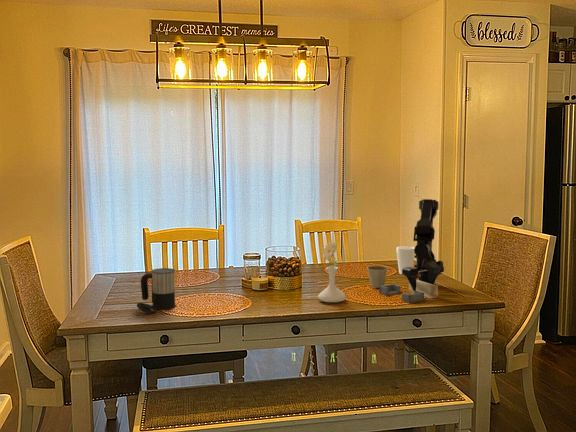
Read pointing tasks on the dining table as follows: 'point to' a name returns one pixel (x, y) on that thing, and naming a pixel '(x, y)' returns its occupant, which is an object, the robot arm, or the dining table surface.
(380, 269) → the flower pot
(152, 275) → the milk frother
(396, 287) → the end caps
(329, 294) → the flower in vase
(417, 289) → the beige rectangular block
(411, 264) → the foam cup
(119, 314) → the dining table surface
